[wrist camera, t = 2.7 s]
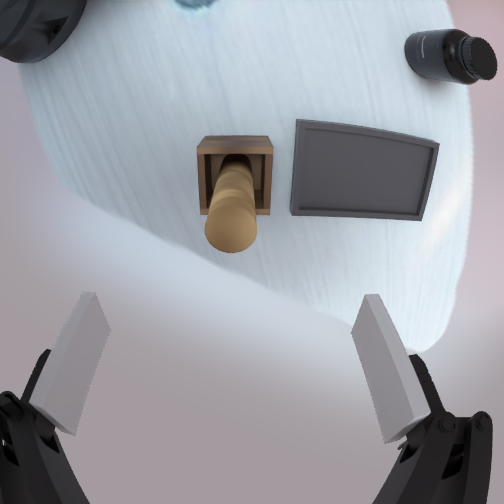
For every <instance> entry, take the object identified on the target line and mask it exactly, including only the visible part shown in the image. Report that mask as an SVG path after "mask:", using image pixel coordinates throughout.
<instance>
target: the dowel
mask: <svg viewBox="0 0 504 504" xmlns="http://www.w3.org/2000/svg"><path fill="white" fill-rule="evenodd" d="M205 235H206V238H207V240H208V241H209V243H210V244H211V245H212V246H213V247H214V248H216V249H218V250H220V251H222V252H226V253H236V252H240V251H243V250H245V249H247V248H248V247H249V246H250V245H251V244H252V243H253V242H254V240H255V238H256V235H257V224H256V213H255V201H254V190H253V179H252V168H251V162H250V159H249V158H248V157H247V156H246V155H245V154H228V155H226V156H225V157H224V159H223V161H222V163H221V167H220V171H219V174H218V178H217V182H216V185H215V189H214V193H213V197H212V201H211V205H210V208H209V212H208V216H207V220H206V224H205Z"/></svg>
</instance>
